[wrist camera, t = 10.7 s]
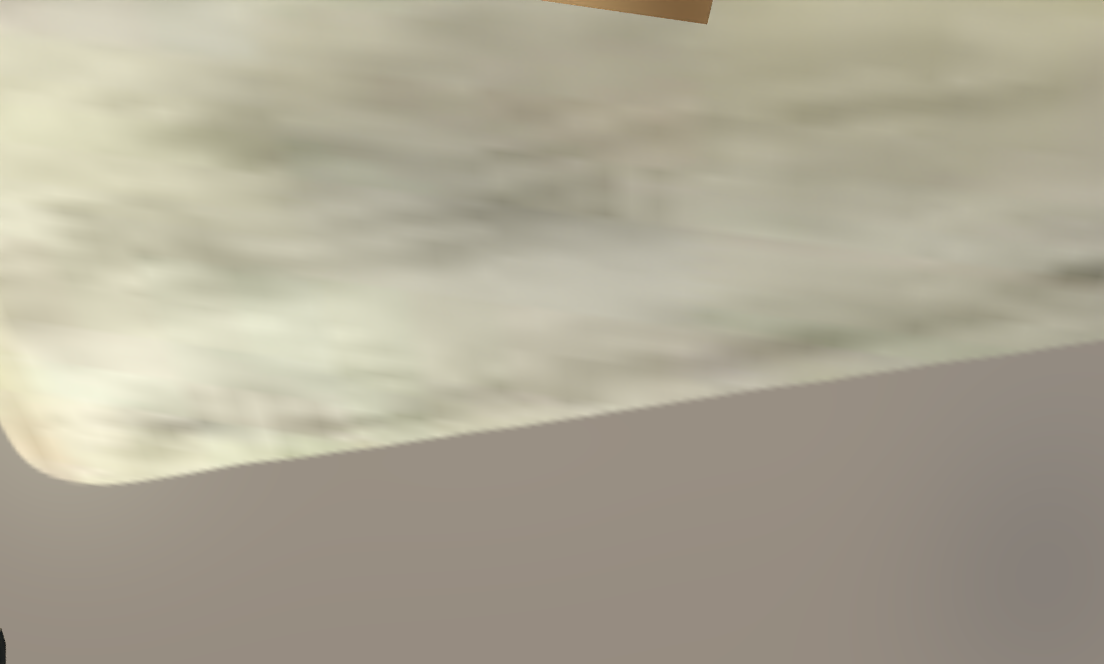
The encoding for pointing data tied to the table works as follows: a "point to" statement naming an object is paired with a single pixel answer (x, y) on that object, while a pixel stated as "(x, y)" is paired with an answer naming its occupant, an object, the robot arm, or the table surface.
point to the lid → (653, 8)
